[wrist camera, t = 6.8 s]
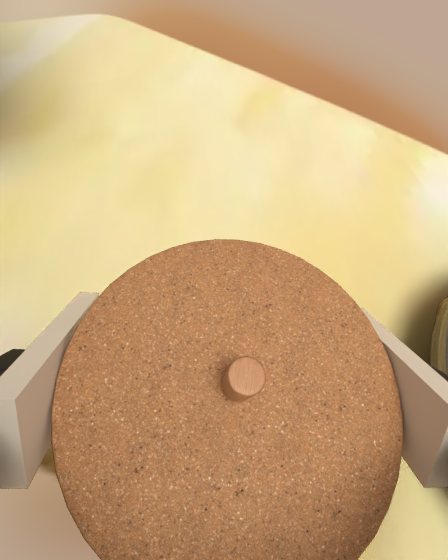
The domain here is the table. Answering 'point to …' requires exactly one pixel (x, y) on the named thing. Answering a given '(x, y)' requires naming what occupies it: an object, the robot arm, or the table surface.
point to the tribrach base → (440, 339)
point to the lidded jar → (226, 412)
